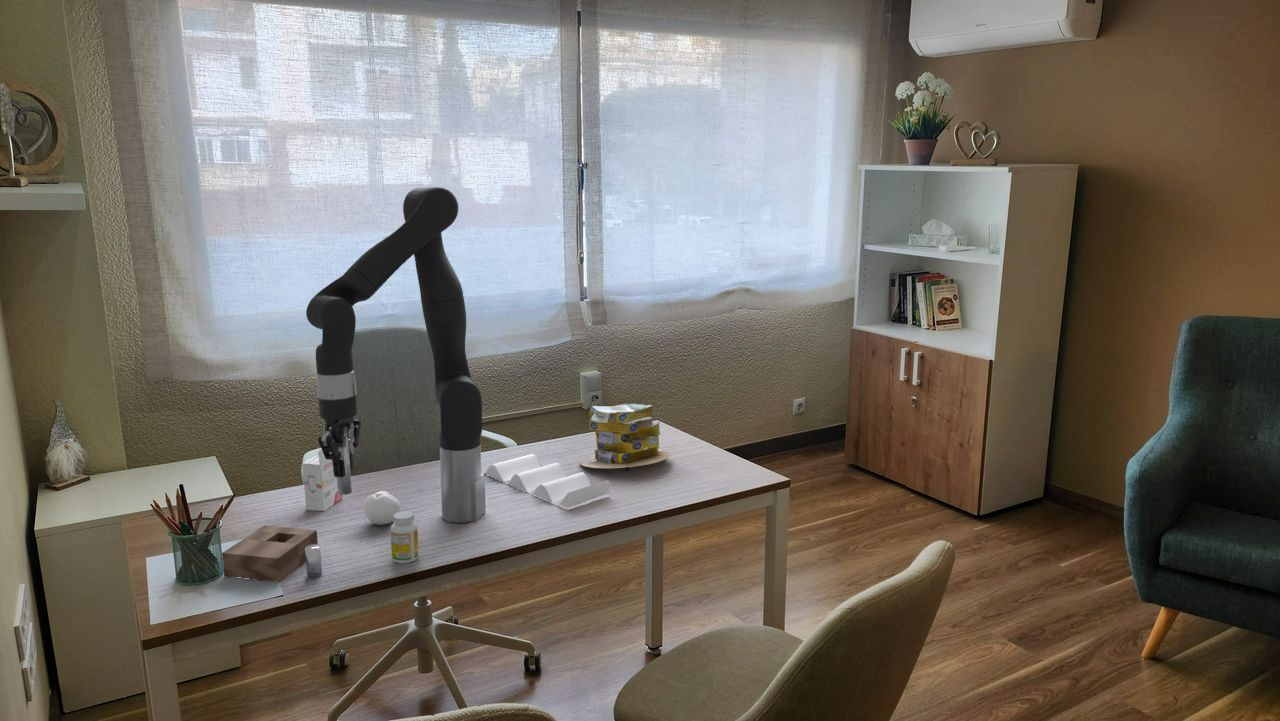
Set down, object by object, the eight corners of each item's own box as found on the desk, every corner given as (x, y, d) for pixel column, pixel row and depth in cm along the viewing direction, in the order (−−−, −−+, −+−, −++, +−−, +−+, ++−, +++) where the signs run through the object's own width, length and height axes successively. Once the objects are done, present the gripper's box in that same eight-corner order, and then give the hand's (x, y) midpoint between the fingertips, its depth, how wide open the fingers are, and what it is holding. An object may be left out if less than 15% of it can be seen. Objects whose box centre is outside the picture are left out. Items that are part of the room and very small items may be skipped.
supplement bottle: (401, 566, 177) (399, 522, 175) (386, 558, 180) (384, 515, 178) (424, 557, 181) (422, 514, 179) (408, 550, 184) (406, 507, 182)
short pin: (324, 573, 173) (322, 545, 172) (317, 579, 171) (315, 550, 169) (311, 571, 174) (309, 543, 172) (304, 578, 171) (302, 549, 170)
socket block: (318, 552, 183) (316, 530, 182) (279, 582, 169) (277, 558, 168) (266, 547, 185) (264, 525, 184) (224, 576, 171) (221, 553, 170)
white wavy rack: (523, 465, 240) (523, 447, 239) (608, 499, 216) (608, 479, 215) (483, 476, 231) (482, 458, 230) (568, 513, 207) (567, 492, 206)
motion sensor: (406, 518, 201) (404, 486, 199) (391, 531, 194) (390, 498, 192) (373, 516, 202) (372, 484, 201) (358, 528, 195) (356, 496, 193)
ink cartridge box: (324, 497, 214) (320, 439, 210) (343, 499, 213) (339, 441, 210) (304, 510, 205) (300, 450, 202) (323, 512, 204) (319, 452, 201)
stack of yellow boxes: (564, 459, 244) (563, 401, 241) (639, 445, 257) (639, 390, 254) (608, 485, 224) (608, 423, 220) (687, 469, 237) (688, 410, 233)
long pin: (354, 490, 183) (349, 430, 180) (348, 495, 180) (343, 434, 178) (342, 489, 184) (337, 430, 181) (335, 494, 181) (330, 434, 178)
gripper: (336, 402, 170) (343, 486, 174) (370, 385, 183) (376, 463, 187) (301, 401, 171) (309, 484, 175) (337, 384, 185) (343, 462, 188)
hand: (343, 473), depth 181 cm, fingers closed on long pin, 2 cm apart
